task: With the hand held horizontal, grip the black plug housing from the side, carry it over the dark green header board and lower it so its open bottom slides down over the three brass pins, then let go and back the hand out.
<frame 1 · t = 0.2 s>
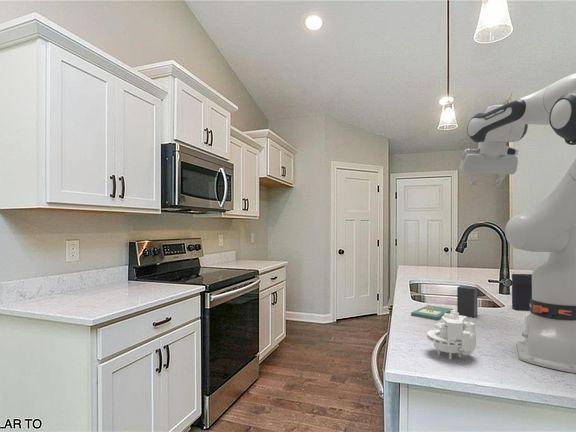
hand: (484, 185, 136), 51 cm above the counter, tool tilted 20°, fingers open, 8 cm apart
mechanical part: (450, 356, 94), on the counter
header board: (432, 313, 140), on the counter
plug housing: (467, 315, 138), on the counter
calculator: (527, 310, 148), on the counter
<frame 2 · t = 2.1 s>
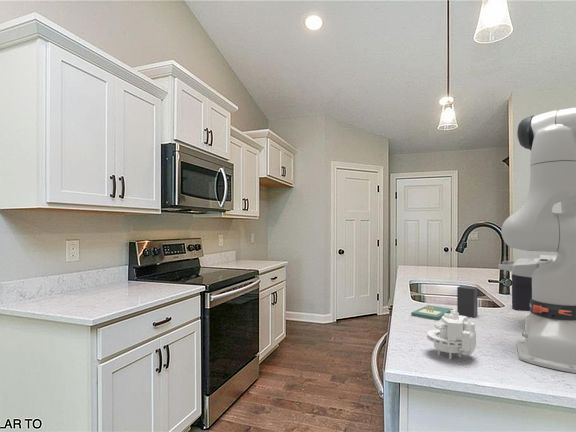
hand: (500, 265, 130), 21 cm above the counter, tool horizontal, fingers open, 8 cm apart
nothing on the counter moved.
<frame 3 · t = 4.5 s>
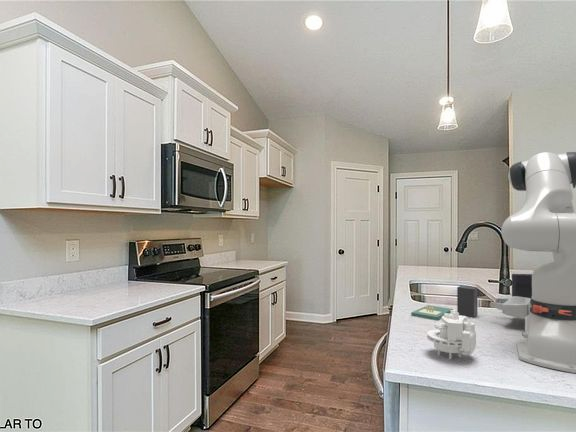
hand: (493, 302, 132), 6 cm above the counter, tool horizontal, fingers open, 8 cm apart
nothing on the counter moved.
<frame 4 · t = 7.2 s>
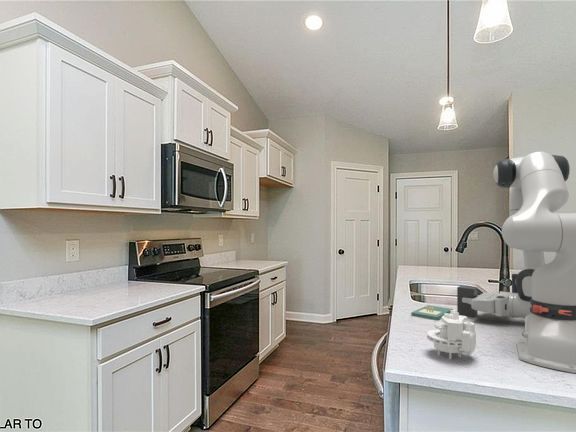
hand: (464, 298, 138), 7 cm above the counter, tool horizontal, fingers closed on plug housing, 5 cm apart
plug housing: (467, 315, 138), on the counter, touching gripper
everything else where it was.
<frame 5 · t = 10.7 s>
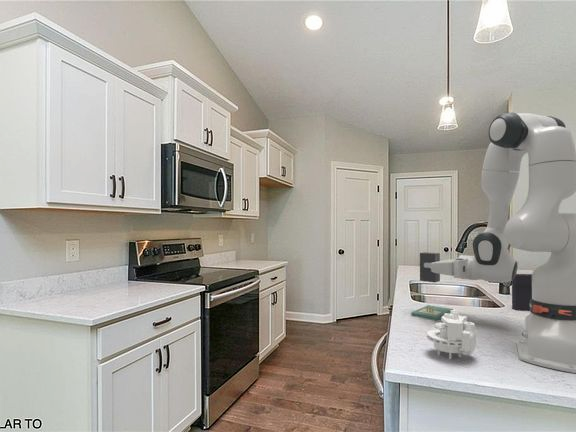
hand: (427, 264, 139), 20 cm above the counter, tool horizontal, fingers closed on plug housing, 5 cm apart
plug housing: (429, 280, 138), point 13 cm above the counter, touching gripper
everything else where it was.
when the fingers open (9 cm above the counter, at t = 14.1 s): plug housing stays where it is, resting on header board.
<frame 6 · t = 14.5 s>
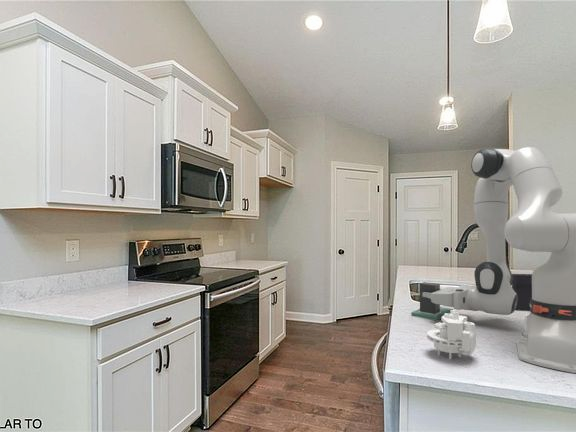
hand: (427, 292, 138), 9 cm above the counter, tool horizontal, fingers open, 8 cm apart
plug housing: (429, 311, 138), point 1 cm above the counter, touching header board
everything else where it was.
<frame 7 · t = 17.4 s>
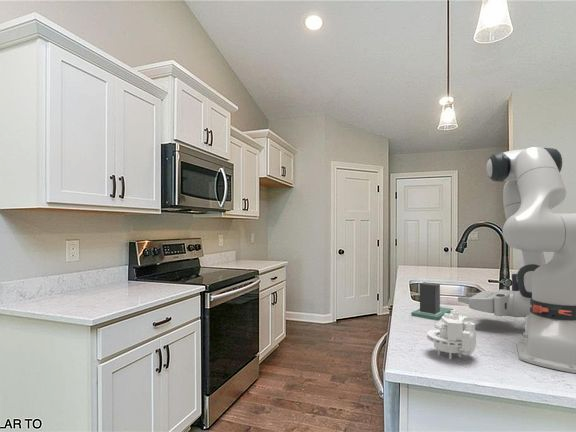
hand: (462, 297, 130), 9 cm above the counter, tool horizontal, fingers open, 8 cm apart
nothing on the counter moved.
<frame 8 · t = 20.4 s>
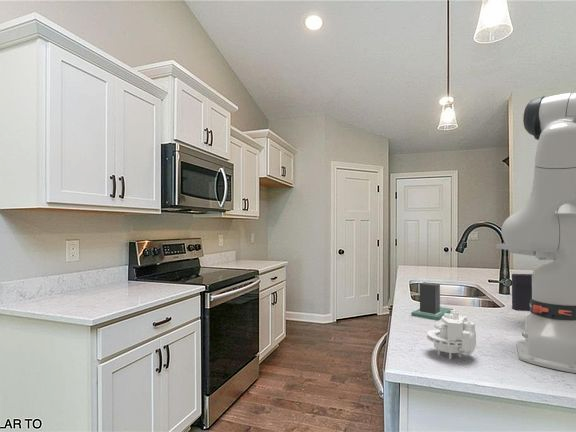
hand: (499, 245, 131), 28 cm above the counter, tool horizontal, fingers open, 8 cm apart
nothing on the counter moved.
at the end: plug housing 0.0 cm from the target spot on the header board, point 1.3 cm above the header board's base; plug housing tilted 0°; the gripper is holding nothing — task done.
